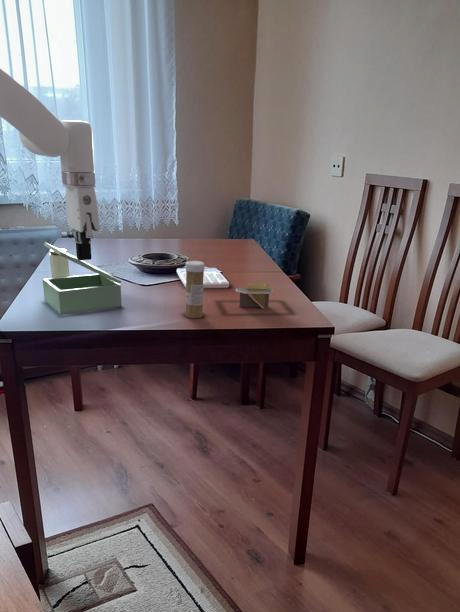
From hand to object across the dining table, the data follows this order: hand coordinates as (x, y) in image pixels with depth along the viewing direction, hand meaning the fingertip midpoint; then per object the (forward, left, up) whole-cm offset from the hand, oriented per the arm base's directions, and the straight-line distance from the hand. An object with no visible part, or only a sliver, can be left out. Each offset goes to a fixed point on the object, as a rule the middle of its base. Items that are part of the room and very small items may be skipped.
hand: (84, 259), depth 138 cm
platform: (+39, -20, -12) cm, 45 cm away
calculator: (+41, +11, -12) cm, 44 cm away
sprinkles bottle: (+21, -19, -12) cm, 31 cm away
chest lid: (-1, 0, -1) cm, 2 cm away
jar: (-1, +17, -12) cm, 21 cm away
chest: (-1, 0, -12) cm, 12 cm away
